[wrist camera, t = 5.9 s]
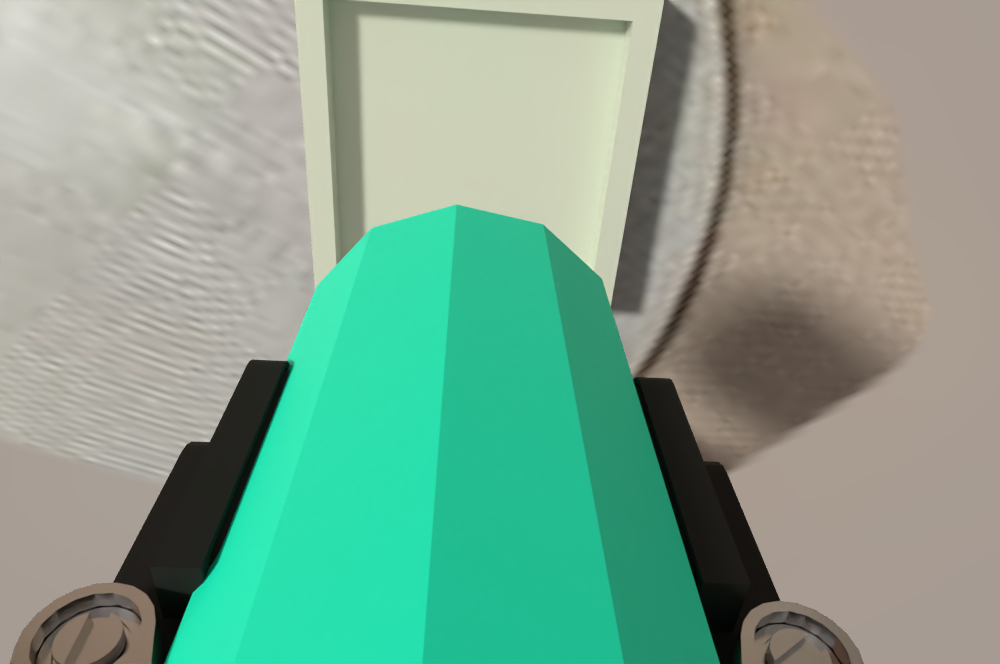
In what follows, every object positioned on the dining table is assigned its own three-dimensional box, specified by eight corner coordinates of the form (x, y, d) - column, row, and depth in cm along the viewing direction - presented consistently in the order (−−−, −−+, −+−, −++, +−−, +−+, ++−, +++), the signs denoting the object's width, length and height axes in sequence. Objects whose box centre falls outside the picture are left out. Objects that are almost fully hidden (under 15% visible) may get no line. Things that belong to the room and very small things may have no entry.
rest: (652, -15, 22) (665, -7, 21) (602, 287, 28) (609, 311, 26) (304, -42, 22) (291, -36, 20) (324, 273, 27) (315, 296, 26)
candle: (667, 390, 15) (1093, 1548, 4) (421, 504, 16) (319, 1564, 6) (520, 139, 12) (760, 1683, 2) (239, 305, 13) (-528, 1648, 3)
